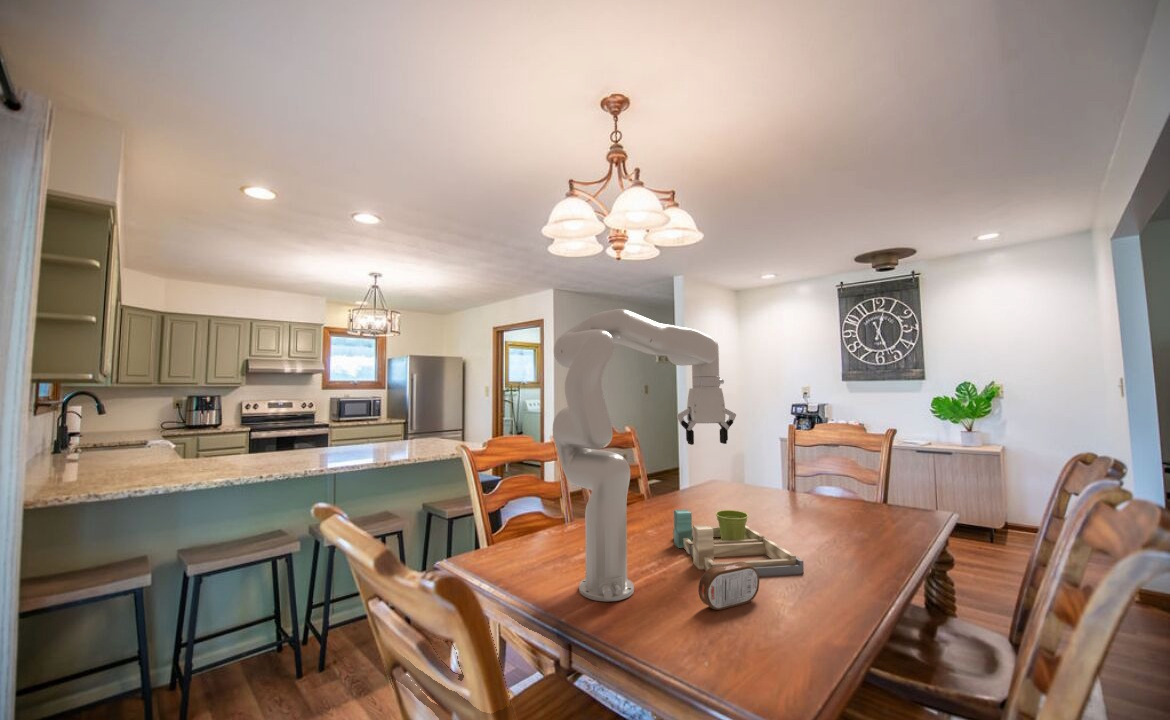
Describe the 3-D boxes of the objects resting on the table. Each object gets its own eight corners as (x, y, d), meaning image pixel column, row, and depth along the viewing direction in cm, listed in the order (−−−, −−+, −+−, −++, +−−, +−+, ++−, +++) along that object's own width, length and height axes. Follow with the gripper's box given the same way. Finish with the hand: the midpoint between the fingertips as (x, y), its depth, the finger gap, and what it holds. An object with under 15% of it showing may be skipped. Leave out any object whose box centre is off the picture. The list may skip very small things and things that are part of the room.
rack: (804, 573, 119) (804, 561, 119) (714, 579, 116) (714, 566, 116) (744, 534, 151) (744, 524, 151) (673, 537, 148) (672, 527, 148)
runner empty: (796, 572, 120) (795, 531, 120) (706, 577, 117) (706, 535, 117) (767, 552, 134) (766, 516, 135) (686, 556, 131) (686, 519, 132)
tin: (752, 595, 107) (751, 557, 107) (762, 601, 104) (761, 561, 104) (697, 609, 100) (696, 568, 101) (707, 615, 97) (706, 573, 98)
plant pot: (742, 551, 135) (742, 520, 136) (711, 544, 141) (710, 514, 142) (753, 542, 143) (752, 513, 143) (723, 536, 149) (722, 508, 149)
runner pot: (764, 550, 136) (763, 514, 136) (684, 554, 133) (684, 518, 133) (741, 535, 150) (740, 502, 150) (669, 538, 147) (668, 505, 147)
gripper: (728, 383, 141) (730, 441, 140) (672, 383, 139) (673, 443, 138) (740, 383, 134) (742, 444, 133) (680, 383, 132) (682, 446, 131)
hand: (707, 443), depth 136 cm, fingers open, 9 cm apart
